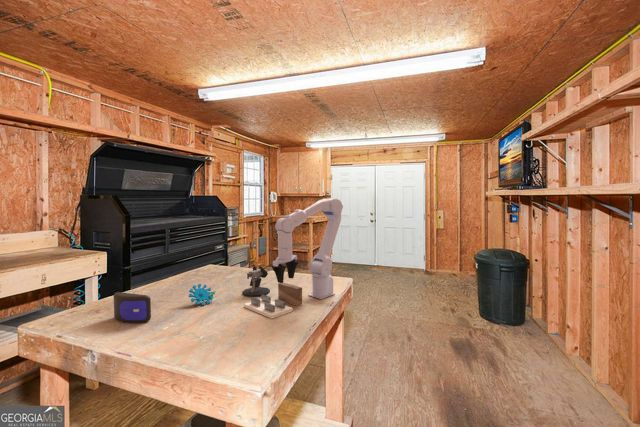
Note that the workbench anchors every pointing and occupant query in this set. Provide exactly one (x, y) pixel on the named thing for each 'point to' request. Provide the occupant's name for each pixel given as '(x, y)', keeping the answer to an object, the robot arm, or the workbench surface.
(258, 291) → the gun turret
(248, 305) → the cabinet panel
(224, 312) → the workbench surface
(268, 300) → the hinge clips
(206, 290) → the gear
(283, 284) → the brown wooden block
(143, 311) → the purple-faced speaker box
